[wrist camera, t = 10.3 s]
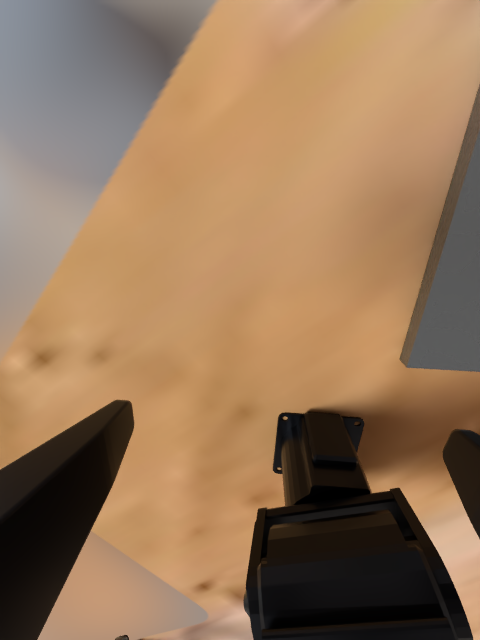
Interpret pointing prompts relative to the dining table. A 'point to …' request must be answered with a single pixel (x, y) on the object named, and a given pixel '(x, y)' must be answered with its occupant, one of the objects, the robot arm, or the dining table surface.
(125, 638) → the coffee press
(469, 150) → the carrier plate
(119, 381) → the dining table surface
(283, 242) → the dining table surface
